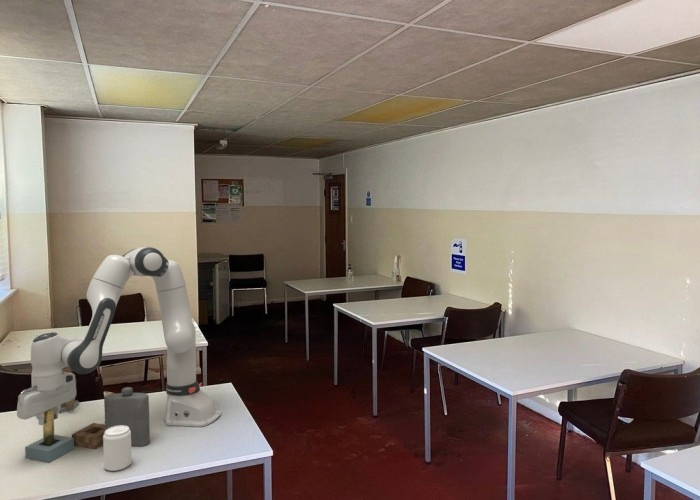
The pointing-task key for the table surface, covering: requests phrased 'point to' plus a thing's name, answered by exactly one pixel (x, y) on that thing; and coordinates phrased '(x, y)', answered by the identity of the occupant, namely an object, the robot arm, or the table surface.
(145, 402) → the flask
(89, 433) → the walnut mount
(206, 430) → the table surface
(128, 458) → the beverage can
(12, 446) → the table surface
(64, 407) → the tankard
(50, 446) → the slate socket block
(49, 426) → the brass peg
